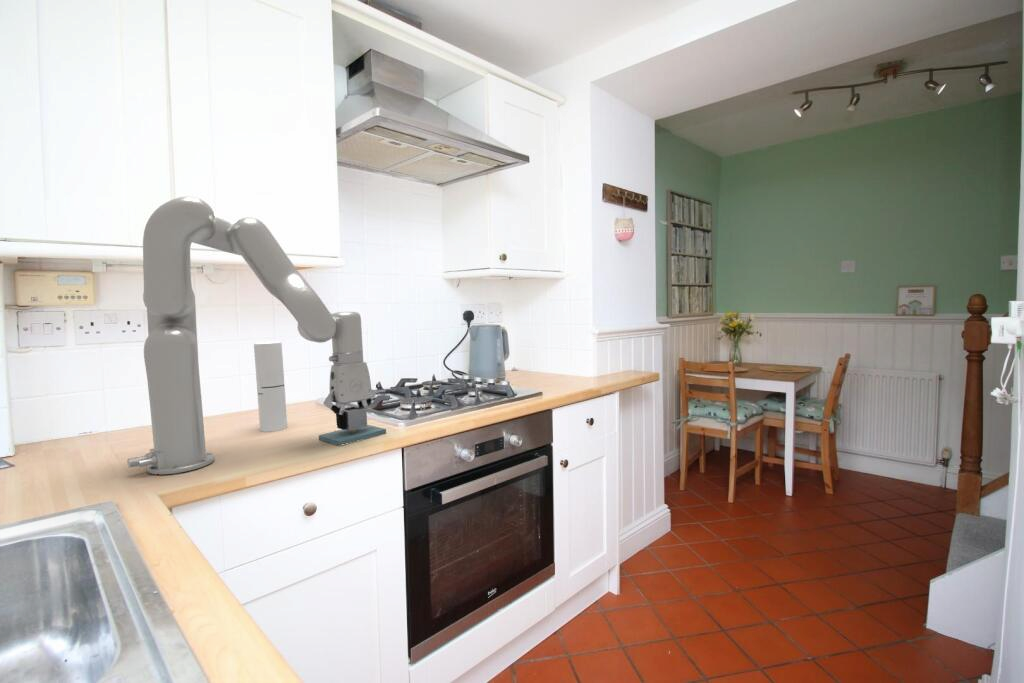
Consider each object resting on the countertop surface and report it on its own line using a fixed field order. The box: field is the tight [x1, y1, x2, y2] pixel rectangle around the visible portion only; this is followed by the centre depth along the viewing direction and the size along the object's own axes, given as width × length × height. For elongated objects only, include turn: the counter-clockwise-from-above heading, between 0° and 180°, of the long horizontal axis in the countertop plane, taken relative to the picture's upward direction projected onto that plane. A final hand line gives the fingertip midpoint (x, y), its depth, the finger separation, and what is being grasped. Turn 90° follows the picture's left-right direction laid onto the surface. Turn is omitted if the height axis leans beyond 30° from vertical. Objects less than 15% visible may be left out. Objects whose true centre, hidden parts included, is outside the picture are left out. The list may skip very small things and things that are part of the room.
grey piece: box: [253, 341, 288, 433], centre depth 140 cm, size 7×7×25 cm
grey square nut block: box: [336, 405, 368, 431], centre depth 130 cm, size 6×6×5 cm
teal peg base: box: [318, 409, 387, 446], centre depth 130 cm, size 14×10×7 cm
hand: (352, 425), depth 130 cm, fingers closed on grey square nut block, 5 cm apart
